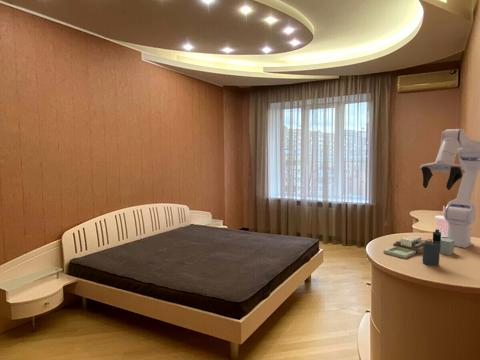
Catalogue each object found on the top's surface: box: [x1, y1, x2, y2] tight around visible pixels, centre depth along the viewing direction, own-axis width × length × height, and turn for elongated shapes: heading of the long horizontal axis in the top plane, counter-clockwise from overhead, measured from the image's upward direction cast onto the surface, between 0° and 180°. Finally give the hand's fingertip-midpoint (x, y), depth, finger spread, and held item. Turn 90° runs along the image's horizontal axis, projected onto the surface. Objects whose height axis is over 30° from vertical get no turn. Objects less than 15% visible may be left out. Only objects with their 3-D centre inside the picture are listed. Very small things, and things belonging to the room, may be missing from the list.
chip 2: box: [406, 234, 422, 244], centre depth 129 cm, size 4×4×2 cm
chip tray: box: [383, 245, 417, 259], centre depth 122 cm, size 9×8×1 cm
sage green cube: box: [440, 237, 455, 256], centre depth 123 cm, size 4×4×5 cm
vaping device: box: [421, 228, 442, 266], centre depth 110 cm, size 3×5×12 cm, turn 79°
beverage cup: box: [434, 205, 449, 238], centre depth 146 cm, size 6×6×14 cm
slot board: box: [392, 238, 433, 255], centre depth 129 cm, size 14×10×3 cm, turn 128°
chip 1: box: [400, 236, 416, 247], centre depth 126 cm, size 4×4×2 cm
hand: (436, 187), depth 115 cm, fingers open, 7 cm apart
